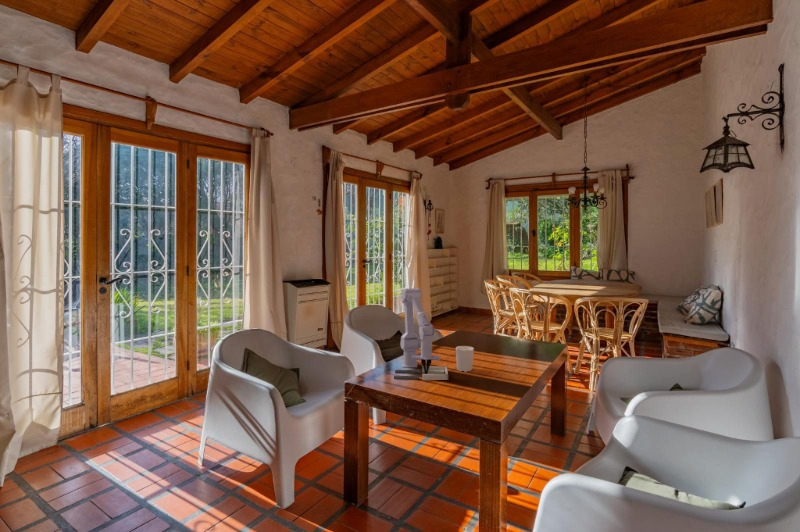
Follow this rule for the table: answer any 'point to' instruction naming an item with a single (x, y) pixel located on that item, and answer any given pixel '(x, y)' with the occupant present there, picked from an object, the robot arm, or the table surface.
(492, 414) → the table surface
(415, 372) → the channel
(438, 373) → the chip
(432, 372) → the white small block
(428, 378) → the white u-shaped bracket
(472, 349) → the candle holder
